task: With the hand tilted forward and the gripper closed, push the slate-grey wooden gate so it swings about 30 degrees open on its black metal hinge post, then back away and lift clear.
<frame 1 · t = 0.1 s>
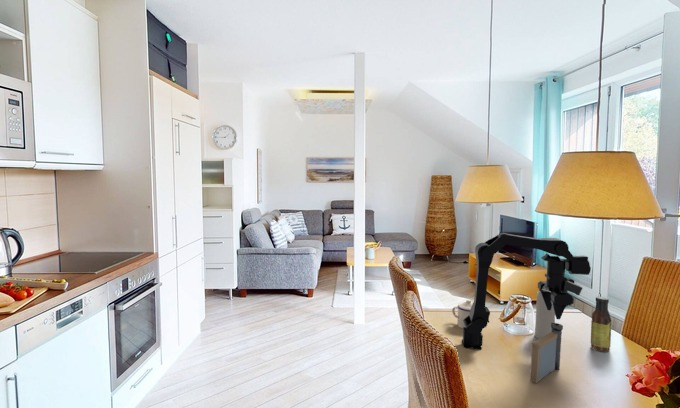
hand: (553, 314, 137), 15 cm above the table, tool pointing down, fingers open, 9 cm apart
teacup with lid: (464, 325, 163), on the table
hinge post: (554, 367, 127), on the table
sauce bottle: (599, 349, 142), on the table
gate: (544, 356, 121), point 7 cm above the table, hinge at 0.0°
notched grey upright panel: (548, 336, 153), on the table
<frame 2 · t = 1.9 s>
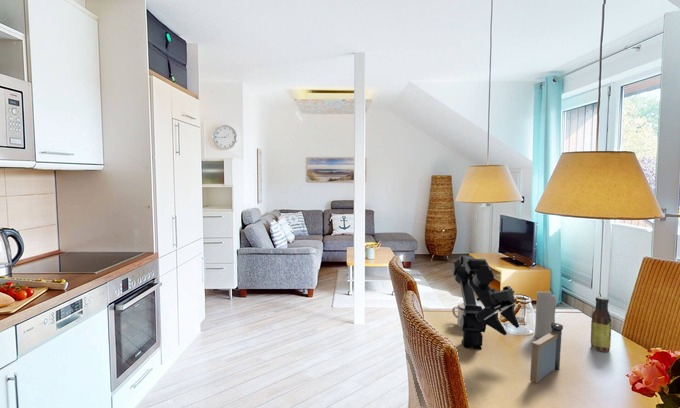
hand: (512, 331, 126), 13 cm above the table, tool tilted 45°, fingers open, 9 cm apart
nothing on the table moved.
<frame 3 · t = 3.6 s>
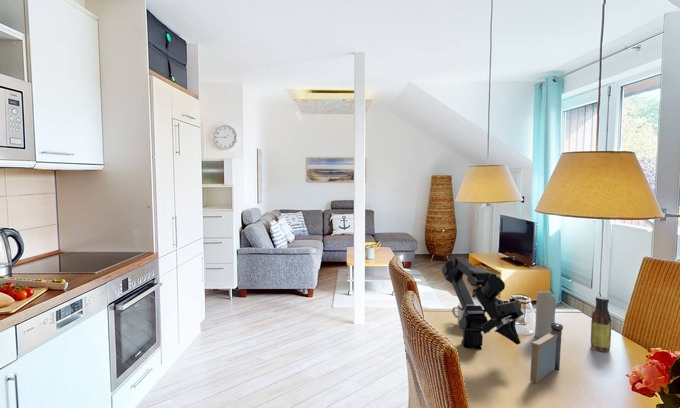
hand: (518, 343, 124), 9 cm above the table, tool tilted 45°, fingers closed
nothing on the table moved.
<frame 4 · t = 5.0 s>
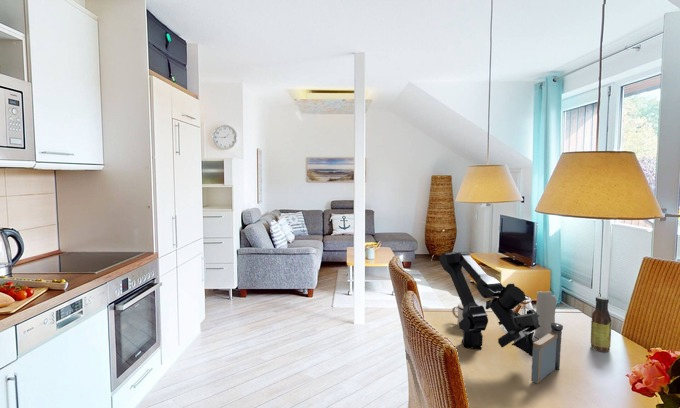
hand: (537, 357, 119), 7 cm above the table, tool tilted 45°, fingers closed, pressing on gate
gate: (544, 356, 121), point 7 cm above the table, hinge at 1.3°, touching gripper
everything else where it was.
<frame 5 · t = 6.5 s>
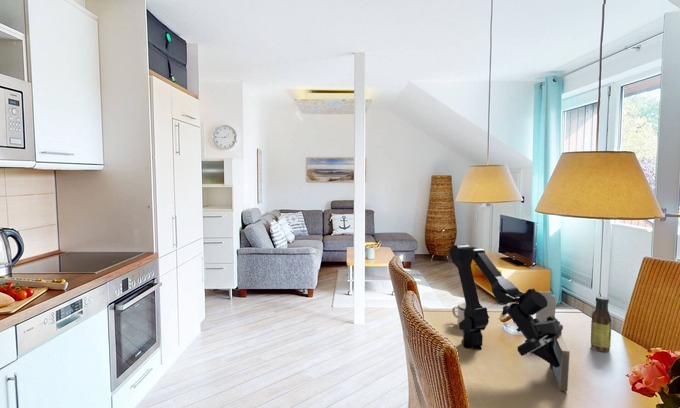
hand: (558, 366, 115), 6 cm above the table, tool tilted 45°, fingers closed
gate: (560, 360, 118), point 7 cm above the table, hinge at 29.7°, touching gripper
everything else where it was.
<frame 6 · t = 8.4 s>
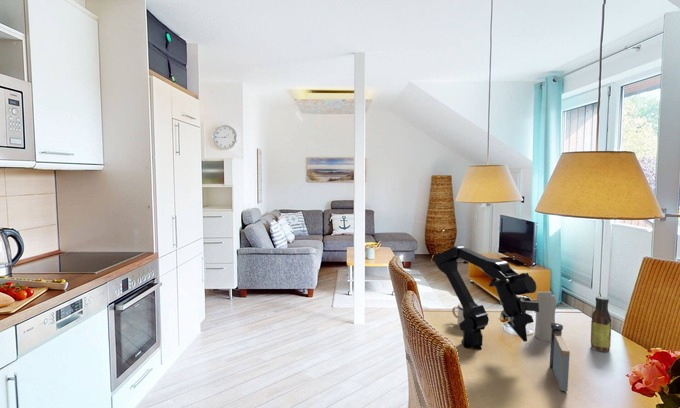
hand: (525, 341, 127), 9 cm above the table, tool tilted 25°, fingers closed
gate: (560, 360, 118), point 7 cm above the table, hinge at 29.7°
everything else where it was.
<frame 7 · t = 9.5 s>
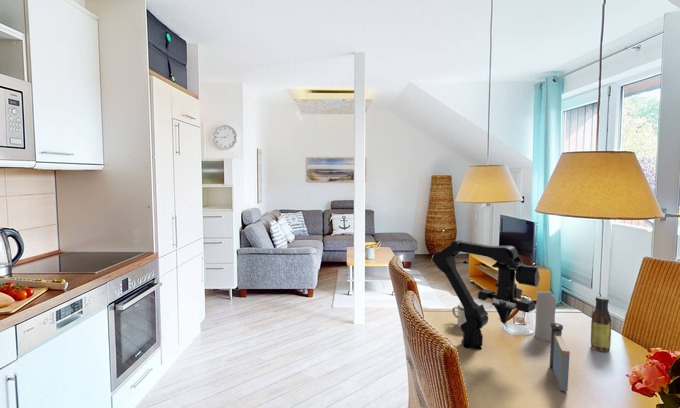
hand: (504, 323, 134), 12 cm above the table, tool pointing down, fingers closed
nothing on the table moved.
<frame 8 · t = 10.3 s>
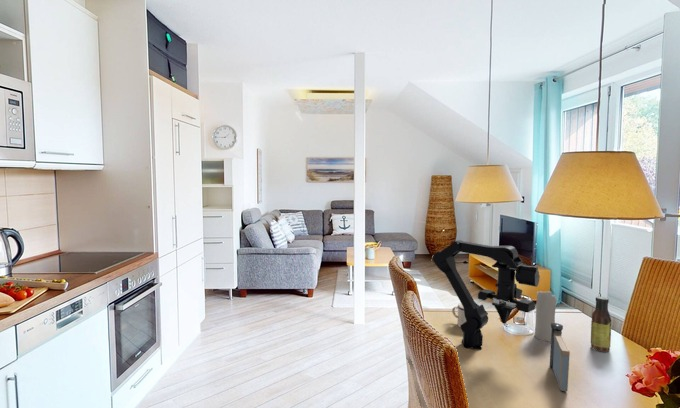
hand: (504, 323, 134), 12 cm above the table, tool pointing down, fingers closed
nothing on the table moved.
at the end: gate at +30° (first picture: +0°); the gripper is holding nothing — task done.
